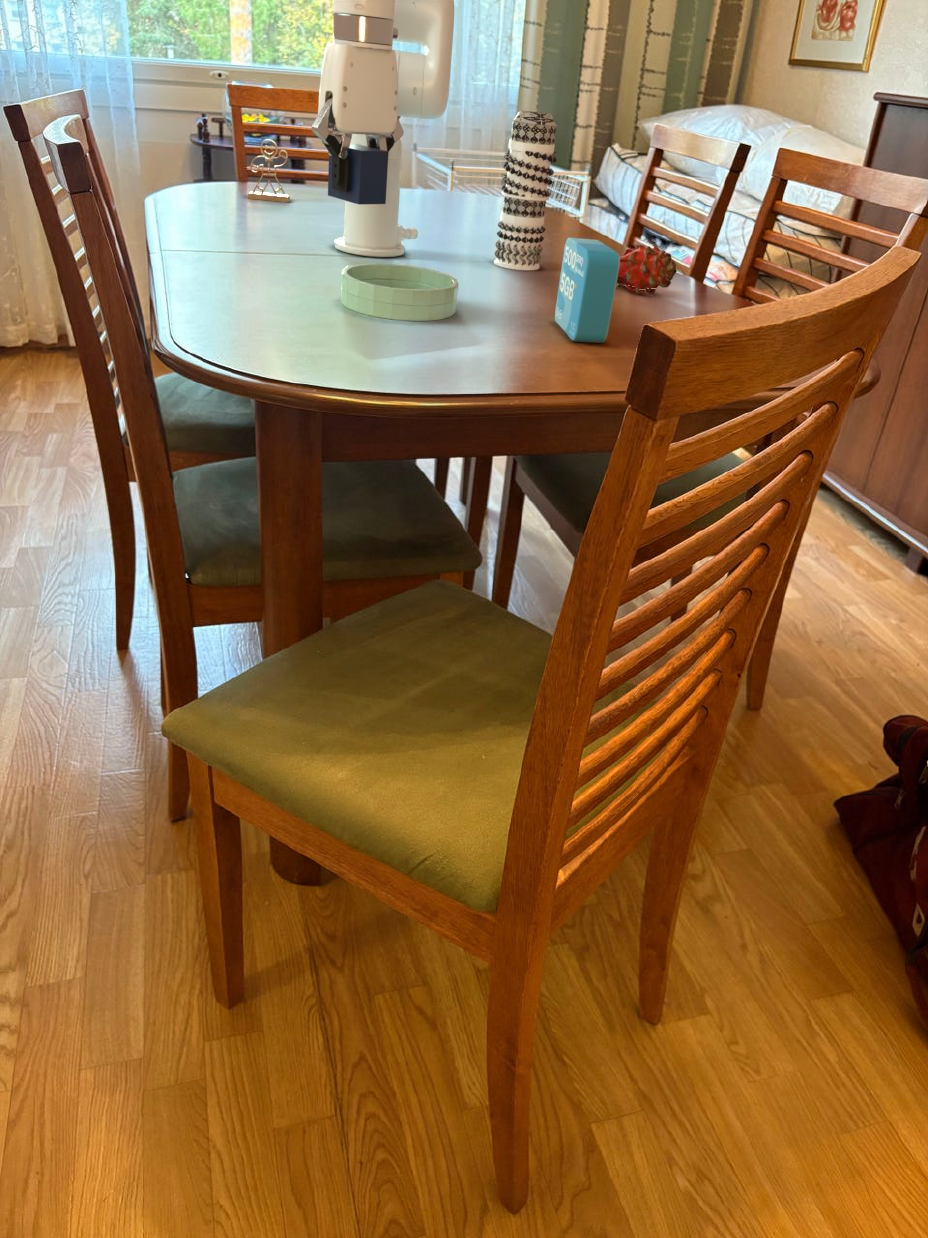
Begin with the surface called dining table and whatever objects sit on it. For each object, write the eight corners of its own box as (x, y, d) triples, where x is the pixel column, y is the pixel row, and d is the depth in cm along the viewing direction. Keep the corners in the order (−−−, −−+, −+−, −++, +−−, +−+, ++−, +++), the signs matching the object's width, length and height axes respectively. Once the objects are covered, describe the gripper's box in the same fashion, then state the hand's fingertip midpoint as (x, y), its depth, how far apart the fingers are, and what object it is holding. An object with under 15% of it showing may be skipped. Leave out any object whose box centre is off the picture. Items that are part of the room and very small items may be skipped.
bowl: (406, 291, 148) (408, 261, 146) (478, 317, 138) (481, 285, 136) (318, 298, 138) (319, 266, 136) (388, 328, 128) (390, 293, 126)
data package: (553, 321, 141) (565, 235, 135) (582, 323, 142) (596, 237, 136) (574, 344, 131) (589, 252, 125) (606, 346, 132) (622, 254, 126)
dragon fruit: (675, 306, 166) (605, 308, 168) (674, 269, 170) (605, 270, 171) (680, 270, 159) (607, 272, 160) (679, 232, 162) (607, 234, 163)
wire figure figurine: (247, 198, 211) (246, 137, 205) (249, 195, 214) (249, 136, 208) (288, 202, 212) (288, 142, 206) (290, 199, 215) (290, 140, 209)
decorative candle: (548, 266, 178) (570, 115, 165) (530, 273, 171) (551, 115, 158) (503, 257, 181) (521, 108, 168) (484, 263, 174) (501, 108, 161)
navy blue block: (354, 194, 134) (356, 143, 131) (385, 203, 130) (388, 151, 127) (327, 195, 131) (329, 142, 128) (358, 204, 127) (361, 150, 124)
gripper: (396, 37, 128) (387, 185, 138) (289, 24, 118) (288, 185, 127) (432, 42, 124) (421, 194, 133) (325, 29, 113) (321, 195, 123)
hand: (356, 188), depth 130 cm, fingers closed on navy blue block, 4 cm apart
